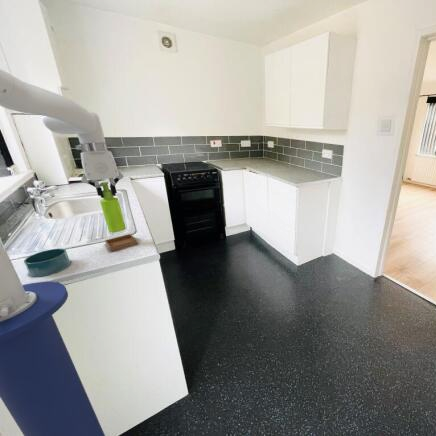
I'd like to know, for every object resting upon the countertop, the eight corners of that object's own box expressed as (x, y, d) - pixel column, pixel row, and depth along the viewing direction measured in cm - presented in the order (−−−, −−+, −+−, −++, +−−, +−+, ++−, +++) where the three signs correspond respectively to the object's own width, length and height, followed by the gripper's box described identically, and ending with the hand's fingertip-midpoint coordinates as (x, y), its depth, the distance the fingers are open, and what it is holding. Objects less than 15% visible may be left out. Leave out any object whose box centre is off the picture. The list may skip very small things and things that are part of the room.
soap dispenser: (106, 234, 97) (91, 185, 90) (110, 228, 103) (97, 181, 96) (123, 231, 99) (110, 183, 92) (127, 226, 105) (114, 180, 98)
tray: (137, 244, 104) (136, 240, 103) (110, 251, 97) (109, 247, 97) (131, 237, 110) (130, 233, 109) (106, 244, 104) (104, 240, 103)
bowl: (71, 267, 86) (67, 255, 84) (29, 280, 79) (23, 267, 77) (69, 257, 93) (64, 245, 92) (29, 268, 86) (24, 255, 85)
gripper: (66, 150, 82) (83, 202, 88) (123, 147, 93) (134, 194, 99) (64, 149, 87) (80, 198, 93) (118, 146, 98) (129, 191, 104)
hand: (108, 195), depth 96 cm, fingers closed on soap dispenser, 3 cm apart
